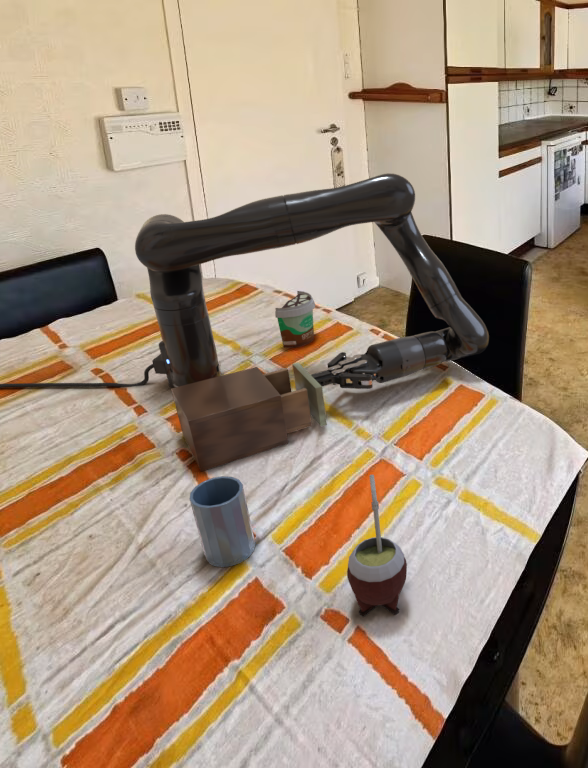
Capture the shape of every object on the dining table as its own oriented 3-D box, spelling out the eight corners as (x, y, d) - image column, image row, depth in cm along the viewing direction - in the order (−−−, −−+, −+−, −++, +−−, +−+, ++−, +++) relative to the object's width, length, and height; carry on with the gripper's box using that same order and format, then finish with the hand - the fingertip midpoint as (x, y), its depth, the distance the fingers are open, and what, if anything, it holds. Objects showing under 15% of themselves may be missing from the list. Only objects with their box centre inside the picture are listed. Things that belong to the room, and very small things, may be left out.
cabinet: (265, 412, 116) (257, 366, 112) (288, 443, 107) (280, 395, 103) (183, 436, 109) (170, 388, 105) (200, 471, 100) (188, 421, 96)
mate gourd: (377, 633, 72) (368, 535, 65) (335, 598, 77) (321, 503, 70) (422, 596, 77) (418, 500, 70) (380, 565, 82) (372, 473, 75)
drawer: (309, 396, 120) (304, 360, 116) (333, 422, 111) (328, 384, 108) (232, 419, 113) (224, 381, 109) (251, 448, 104) (243, 408, 101)
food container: (306, 352, 139) (300, 310, 135) (280, 350, 140) (274, 308, 136) (327, 331, 150) (322, 291, 145) (303, 329, 151) (298, 289, 146)
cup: (196, 565, 82) (180, 505, 77) (218, 532, 88) (204, 474, 83) (243, 569, 81) (229, 509, 77) (262, 535, 87) (250, 477, 82)
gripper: (379, 329, 124) (295, 350, 115) (411, 353, 114) (322, 378, 106) (381, 363, 127) (300, 386, 119) (413, 389, 118) (327, 415, 109)
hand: (311, 382), depth 112 cm, fingers closed
